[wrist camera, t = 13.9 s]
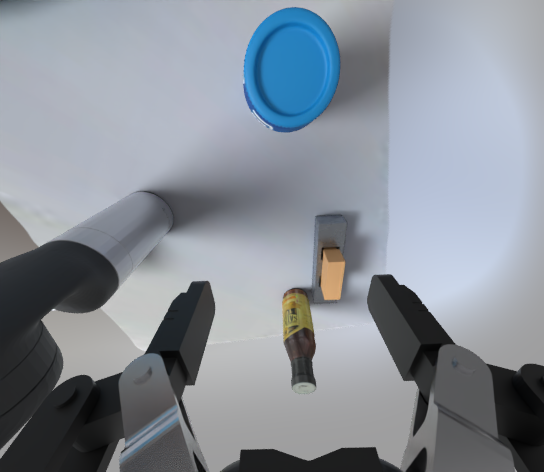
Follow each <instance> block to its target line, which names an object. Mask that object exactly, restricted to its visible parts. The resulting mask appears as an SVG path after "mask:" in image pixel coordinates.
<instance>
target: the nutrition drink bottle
mask: <svg viewBox="0 0 544 472" xmlns="http://www.w3.org/2000/svg"><path fill="white" fill-rule="evenodd" d="M246 51H247V52H246V55H245V60H244V62H245V63H244V77H243V86H244V93H245V98H246V101H247V104H248V106H249V108H250V110H251V112H252V113H253V115H254V116H255V117H256V119H257V120H258V121H259V122H260V123H261V124H263V125H264V126H266V127H267V128H269V129H271V130H274V131H277V132H293V131H297V130H299V129H302V128H304V127H305V126H307V125H308V124H309V123H311V122H312V121H313V120H314V119H316V118H317V117H318V116H320V114H322V113H323V111H324V110H325V109H326V107H327V106H328V105H329V103H330V102H331V100H332V98H333V96H334V94H335V91H336V88H337V85H338V81H339V75H340V54H339V48H338V45H337V41H336V39H335V36H334V34H333V32H332V31H331V29H330V27H329V26H328V25H327V23H326V22H325V21H324V20H323V19H322V18H321V17H320V16H318V15H317V14H315V13H314V12H312V11H310V10H307V9H304V8H297V7H292V8H285V9H282V10H279V11H277V12H275V13H273V14H272V15H270V16H269V17H267V18H266V19H265V20H264V21H263V22H262V23H261V24H260V25H259V27H258V28H257V29H256V31H255V32H254V34H253V36H252V38H251V39H250V42H249V44H248V48H247V50H246Z"/></svg>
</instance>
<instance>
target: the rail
mask: <svg viewBox="0 0 544 472" xmlns="http://www.w3.org/2000/svg"><path fill="white" fill-rule="evenodd" d="M346 228H347V222H346V221H345V219H344V218H343V216H342V215H330V216H316V218H315V237H314V256H313V275H312V297H313V301H314V304H321V303H336V302H337V300H324V296H323V293H322V289H321V279H320V276H321V275H322V263H323V252H322V248H323V247H336V248H337V249H339V250H340V252H341V254H342V256H343V250H344V243H345V235H346Z"/></svg>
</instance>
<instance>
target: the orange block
mask: <svg viewBox="0 0 544 472" xmlns="http://www.w3.org/2000/svg"><path fill="white" fill-rule="evenodd" d="M322 252H323V263H322V275H321V276H320V279H321V289H322V293H323V296H324V300H340V296H341V289H342V282H343V275H344V268H345V260H344V258H343V256H342V254H341V252H340V250H339V249H337V248H336V247H323V248H322Z"/></svg>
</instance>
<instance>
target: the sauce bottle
mask: <svg viewBox="0 0 544 472" xmlns="http://www.w3.org/2000/svg"><path fill="white" fill-rule="evenodd" d="M282 308H283V336H284V345H285V347H286V350H287V353H288V356H289V358H290V361H291V367H292V380H291V383H292V390H293V391H294V392H296V393H298V394H308V393H312V392H314V391H315V390H316V381H315V378H314V375H313V368H312V358H313V356H314V354H315V349H316V344H315V340H314V329H313V323H312V317H311V311H310V305H309V300H308V297H307V294H306V293H305V292H304V291H303V290H300V289H291V290H289V291H287V292H286V293H285V294H284V297H283V301H282Z"/></svg>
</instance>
